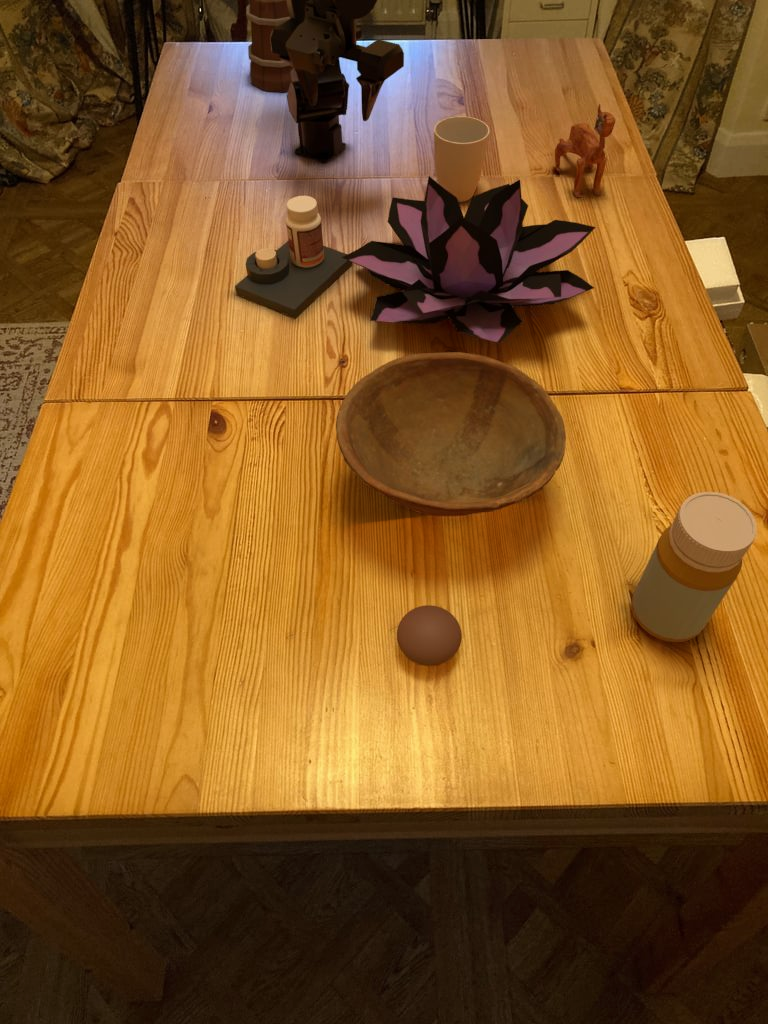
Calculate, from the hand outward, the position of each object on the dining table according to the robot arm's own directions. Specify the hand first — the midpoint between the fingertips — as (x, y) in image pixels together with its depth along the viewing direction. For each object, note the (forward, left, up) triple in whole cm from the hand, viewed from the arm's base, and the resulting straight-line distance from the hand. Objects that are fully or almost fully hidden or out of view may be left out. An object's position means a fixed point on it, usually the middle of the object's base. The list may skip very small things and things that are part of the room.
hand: (339, 112), depth 112 cm
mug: (-30, +28, -12) cm, 43 cm away
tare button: (+4, -25, -9) cm, 27 cm away
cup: (+16, +8, -12) cm, 22 cm away
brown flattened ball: (+51, -63, -12) cm, 82 cm away
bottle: (+69, -48, -12) cm, 85 cm away
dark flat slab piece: (+7, -23, -12) cm, 27 cm away
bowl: (+43, -45, -12) cm, 63 cm away
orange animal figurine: (+30, +23, -12) cm, 39 cm away
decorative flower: (+29, -14, -12) cm, 34 cm away
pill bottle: (+7, -20, -11) cm, 24 cm away
